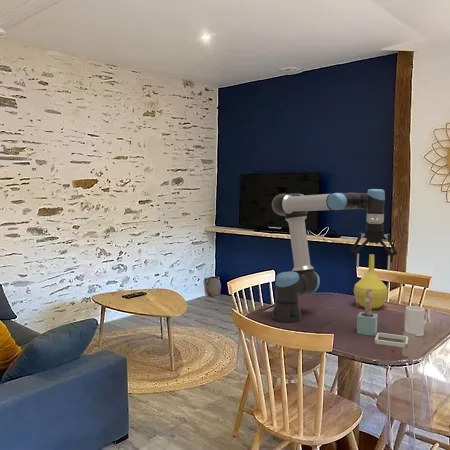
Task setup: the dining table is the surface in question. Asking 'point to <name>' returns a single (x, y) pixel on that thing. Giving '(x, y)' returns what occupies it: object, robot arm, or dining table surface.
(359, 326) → the teal socket block
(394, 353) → the dining table surface
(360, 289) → the vase
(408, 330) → the mug
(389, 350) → the dining table surface
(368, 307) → the dowel
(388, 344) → the pale green rectangular frame
